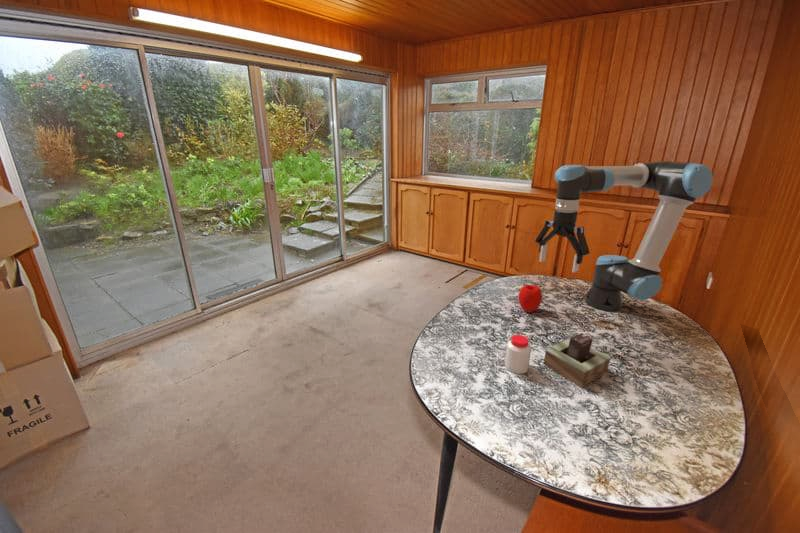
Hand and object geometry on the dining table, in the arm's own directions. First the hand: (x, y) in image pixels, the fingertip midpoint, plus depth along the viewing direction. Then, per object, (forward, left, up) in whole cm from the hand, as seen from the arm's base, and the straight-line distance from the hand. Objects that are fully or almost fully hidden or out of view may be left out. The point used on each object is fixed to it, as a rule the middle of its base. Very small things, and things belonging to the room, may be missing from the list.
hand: (557, 266), depth 131 cm
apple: (-7, -15, -28) cm, 32 cm away
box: (+13, +21, -28) cm, 37 cm away
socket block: (+13, +21, -28) cm, 37 cm away
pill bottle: (+29, +10, -28) cm, 42 cm away
